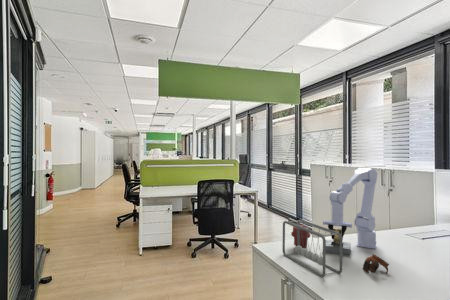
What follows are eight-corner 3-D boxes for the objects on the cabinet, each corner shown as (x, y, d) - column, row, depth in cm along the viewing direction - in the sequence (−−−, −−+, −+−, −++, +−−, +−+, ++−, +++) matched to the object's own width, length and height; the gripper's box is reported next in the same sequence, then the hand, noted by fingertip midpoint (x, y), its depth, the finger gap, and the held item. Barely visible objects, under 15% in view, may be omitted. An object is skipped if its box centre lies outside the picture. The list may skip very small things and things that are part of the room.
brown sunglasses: (361, 266, 131) (370, 251, 130) (382, 280, 125) (391, 265, 125) (359, 268, 121) (369, 252, 120) (381, 284, 115) (392, 267, 115)
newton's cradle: (282, 254, 144) (282, 220, 144) (298, 251, 148) (298, 218, 148) (323, 279, 116) (324, 236, 116) (342, 275, 120) (343, 233, 121)
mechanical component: (290, 244, 159) (308, 245, 158) (292, 250, 149) (311, 251, 148) (290, 222, 159) (308, 223, 158) (292, 227, 149) (311, 228, 148)
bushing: (341, 241, 151) (341, 228, 151) (341, 244, 147) (341, 230, 148) (333, 240, 153) (333, 227, 153) (333, 242, 149) (333, 229, 149)
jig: (350, 249, 152) (350, 243, 152) (350, 256, 142) (350, 249, 142) (325, 245, 158) (325, 239, 158) (323, 252, 148) (323, 245, 148)
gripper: (322, 214, 150) (322, 239, 150) (352, 217, 143) (351, 243, 143) (323, 211, 156) (323, 236, 156) (352, 214, 150) (352, 239, 150)
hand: (337, 239), depth 150 cm, fingers closed on bushing, 4 cm apart
